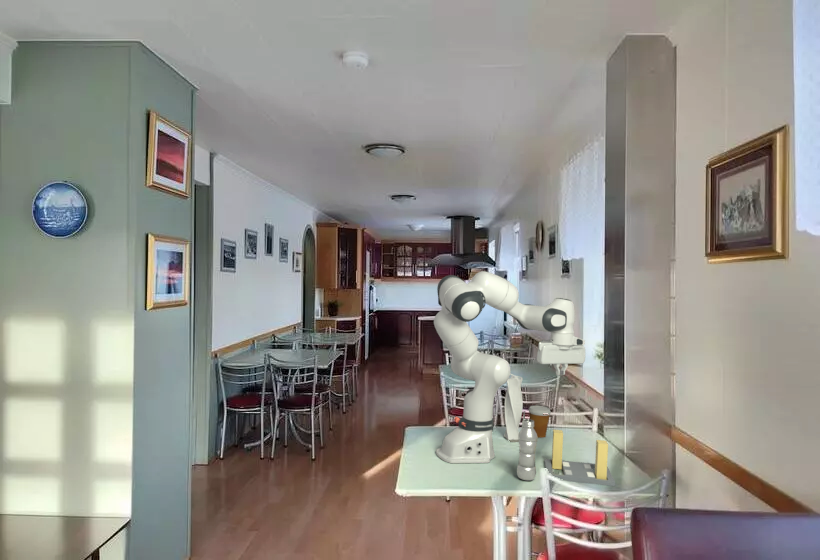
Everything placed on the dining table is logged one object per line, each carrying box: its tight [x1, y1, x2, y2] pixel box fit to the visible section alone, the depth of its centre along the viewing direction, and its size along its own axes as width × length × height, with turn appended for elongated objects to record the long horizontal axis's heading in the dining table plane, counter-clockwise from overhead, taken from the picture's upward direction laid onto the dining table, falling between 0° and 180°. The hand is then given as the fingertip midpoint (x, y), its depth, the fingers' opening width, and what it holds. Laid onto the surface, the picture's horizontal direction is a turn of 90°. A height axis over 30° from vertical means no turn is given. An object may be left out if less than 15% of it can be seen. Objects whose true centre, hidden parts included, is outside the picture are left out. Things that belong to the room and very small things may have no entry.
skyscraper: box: [503, 373, 526, 443], centre depth 225 cm, size 8×8×28 cm
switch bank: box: [544, 458, 616, 487], centre depth 188 cm, size 16×22×2 cm
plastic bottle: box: [516, 418, 538, 481], centre depth 181 cm, size 6×7×20 cm
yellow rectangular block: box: [551, 429, 564, 470], centre depth 193 cm, size 4×3×13 cm
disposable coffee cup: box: [527, 405, 552, 439], centre depth 231 cm, size 10×10×12 cm
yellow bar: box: [594, 439, 609, 480], centre depth 183 cm, size 4×3×13 cm
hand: (560, 375), depth 208 cm, fingers closed
